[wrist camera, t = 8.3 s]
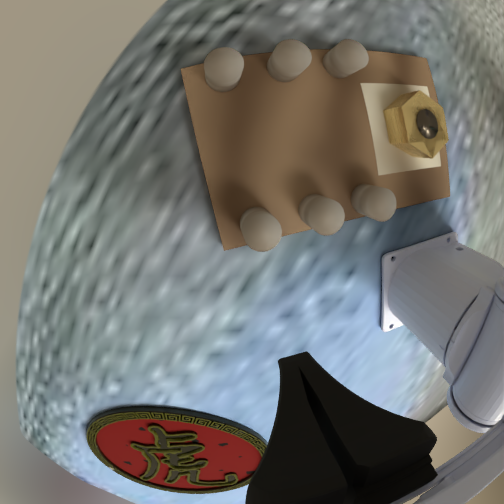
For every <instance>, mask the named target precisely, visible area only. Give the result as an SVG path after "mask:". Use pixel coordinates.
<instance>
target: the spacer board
mask: <svg viewBox="0 0 504 504" xmlns="http://www.w3.org/2000/svg"><path fill="white" fill-rule="evenodd" d="M181 73H182V77H183V82H184V87H185V91H186V96H187V101H188V105H189V110H190V114H191V118H192V123H193V127H194V131H195V136H196V140H197V144H198V149H199V153H200V157H201V161H202V165H203V169H204V174H205V178H206V182H207V186H208V190H209V194H210V198H211V202H212V206H213V210H214V214H215V217H216V221H217V225H218V229H219V233H220V237H221V241H222V244H223V248H224V251H225V250H229V249H233V248H237V247H241V246H245V245H248V246H249V247H250V248H251V249H253V250H255V251H260V252H264V251H268V250H271V249H273V248H274V247H275V246H276V245H277V244H278V243H279V241H280V239H281V237H282V236H286V235H290V234H294V233H298V232H302V231H306V230H310V229H313V230H315V231H316V232H317V233H319V234H321V235H326V236H327V235H332V234H334V233H336V232H337V231H339V229H340V228H341V227H342V225H343V223H344V221H348V220H352V219H356V218H360V217H364V216H368V217H370V218H372V219H375V220H377V221H380V222H384V221H387V220H389V219H390V218H391V217H392V216H393V214H394V213H395V210H396V209H398V208H402V207H407V206H411V205H415V204H420V203H424V202H428V201H433V200H437V199H441V198H446V197H450V186H449V172H448V161H447V152H446V144H445V145H444V146H443V147H442V149H441V150H440V151H439V152H438V153H437V154H436V155H435V157H434V158H433V159H430V158H417V157H412V156H410V155H409V154H407V153H405V152H404V151H402V150H400V149H398V148H397V147H395V146H393V145H391V144H390V143H389V138H388V133H387V128H386V123H385V118H384V113H383V110H384V109H385V108H386V107H388V106H389V105H390V104H391V103H392V102H393V101H394V100H396V99H397V98H398V97H399V96H400V95H402V94H406V93H410V92H414V91H418V90H420V91H422V92H423V93H425V94H426V95H427V96H429V97H430V98H431V99H432V100H434V101H435V102H436V103H438V99H437V95H436V91H435V87H434V83H433V79H432V76H431V72H430V68H429V65H428V62H427V59H426V58H422V57H416V56H410V55H403V54H396V53H388V52H378V51H366V49H365V48H364V47H363V46H362V45H361V44H360V43H358V42H357V41H355V40H351V39H345V40H342V41H341V42H340V43H338V44H337V45H336V46H335V47H334V48H332V49H313V50H309V48H308V47H307V46H306V45H305V44H303V43H302V42H300V41H297V40H293V39H287V40H283V41H281V42H280V43H278V44H277V46H276V47H275V49H274V51H273V52H269V53H260V54H252V55H245V56H242V55H241V54H240V53H239V52H238V51H236V50H234V49H232V48H228V47H222V48H217V49H215V50H213V51H211V52H210V53H209V54H208V55H207V56H206V58H205V60H204V63H203V64H198V65H194V66H190V67H186V68H182V69H181Z"/></svg>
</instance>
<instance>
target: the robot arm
mask: <svg viewBox="0 0 504 504" xmlns="http://www.w3.org/2000/svg"><path fill="white" fill-rule="evenodd" d="M447 239H448V240H447ZM392 256H393V259H392V260H391V258H392ZM402 325H405V326H406V327H407V328H408V329H409V330H410V331H411V332H412V333H413V334H414V335H415V336H416V337H417V338H418V339H419V340H420V341H421V342H422V343H423V344H424V345H425V346H426V347H427V348H428V349H429V350H430V352H431V353H432V354H433V355H434V356H435V357H436V358H437V359H438V360H439V361H440V362H441V363H442V364H443V365H444V366H445V367H446V369H445V372H444V375H443V378H444V379H445V380H446V381H447V382H448V383H449V385H450V386H449V389H448V391H447V402H448V406H449V408H450V411H451V412H452V414H453V416H454V417H455V418H456V419H457V421H458V422H459V423H460V424H461V425H463V426H464V427H466V428H468V429H470V430H472V431H475V432H479V433H485V434H483V435H482V436H481V437H480V438H478V439H477V440H476V441H475V442H474V443H472V444H471V445H470V446H468V447H467V448H466V449H464V450H463V451H462V452H460V453H459V454H457V455H456V456H455V457H453V458H452V459H450V460H449V461H447V462H446V463H444V464H443V465H441V466H440V467H438V468H436V469H434V467H433V466H432V465H431V462H432V459H431V457H430V455H429V453H430V452H431V450H432V449H433V447H434V445H435V444H436V441H437V437H436V436H435V434H434V433H433V432H432V430H431V429H430V428H429V427H428V426H427V425H426V424H425V423H424V422H421V421H417V420H413V419H409V418H406V417H403V416H400V415H397V414H394V413H391V412H389V411H387V410H385V409H382V408H380V407H378V406H376V405H374V404H372V403H370V402H368V401H366V400H364V399H363V398H361V397H359V396H358V395H356V394H355V393H353V392H352V391H350V390H349V389H347V388H346V387H345V386H343V385H342V384H341V383H339V382H338V381H337V380H336V379H335V378H333V377H332V376H331V375H330V374H329V373H328V372H327V371H325V370H324V369H323V368H322V367H321V366H320V365H319V364H318V363H317V362H316V361H315V359H314V358H313V357H312V356H311V355H310V354H309V353H308V352H303V353H299V354H296V355H292V356H288V357H285V358H281V359H279V360H278V364H279V369H280V392H279V401H278V407H277V413H276V418H275V422H274V426H273V429H272V432H271V436H270V439H269V442H268V444H267V447H266V449H265V452H264V454H263V456H262V459H261V461H260V463H259V465H258V467H257V469H256V471H255V473H254V474H253V476H252V478H251V480H250V482H249V486H248V490H247V495H246V504H403V503H405V502H407V501H409V500H411V499H413V498H414V497H416V496H418V495H420V494H422V493H423V492H425V491H427V490H428V489H430V488H431V489H430V490H428V491H427V492H425V493H424V494H422V495H421V496H420V498H419V499H418V500H417V501H416V502H415V503H413V504H465V503H467V502H468V501H469V500H470V499H472V498H473V497H474V496H476V495H477V494H478V493H479V492H481V491H482V490H483V489H484V488H485V487H486V486H487V485H489V484H490V483H491V482H492V481H493V480H494V479H495V478H497V477H498V476H499V475H500V474H501V473H502V472H503V471H504V268H503V267H502V265H501V264H500V263H498V262H497V261H495V260H493V259H491V258H489V257H487V256H485V255H483V254H481V253H479V252H477V251H475V250H473V249H471V248H469V247H467V246H464V245H462V244H460V243H458V235H457V233H456V232H451V233H448V234H445V235H442V236H439V237H436V238H433V239H430V240H427V241H424V242H421V243H418V244H415V245H412V246H408V247H405V248H402V249H399V250H396V251H393V252H389V253H386V254H384V256H383V257H382V317H381V330H382V331H383V332H387V331H390V330H392V329H395V328H397V327H399V326H402ZM433 486H434V487H433ZM432 487H433V488H432Z"/></svg>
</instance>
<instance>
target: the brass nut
mask: <svg viewBox="0 0 504 504" xmlns="http://www.w3.org/2000/svg"><path fill="white" fill-rule="evenodd" d="M383 113H384V118H385V123H386V128H387V133H388V138H389V143H390V144H391V145H393V146H395V147H397V148H398V149H400V150H402V151H404V152H405V153H407V154H409V155H410V156H412V157H417V158H430V159H433V158H434V157H435V155H436V154H437V153H438V152H439V151H440V150H441V149H442V147H443V146H444V145H445V144H446V143H447V142H448V140H449V139H448V133H447V127H446V121H445V116H444V111H443V107H441V106H440V105H439V104H438V103H436V102H435V101H434V100H432V99H431V98H430V97H429V96H427V95H426V94H425V93H423V92H422V91H420V90H418V91H414V92H410V93H406V94H402V95H400V96H399V97H398V98H397V99H396V100H394V101H393V102H392V103H391V104H390V105H389V106H388V107H386V108H385V109H384V110H383Z"/></svg>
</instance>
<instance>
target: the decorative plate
mask: <svg viewBox="0 0 504 504" xmlns="http://www.w3.org/2000/svg"><path fill="white" fill-rule="evenodd" d="M86 438H87V442H88V445H89V447H90V449H91V450H92V452H93V453H94V454H95V456H96V457H97V458H98V459H99V460H100V461H102V463H104V464H105V465H106V466H107V467H109V468H110V469H112V470H113V471H115V472H116V473H118V474H120V475H122V476H123V477H125V478H127V479H130V480H132V481H134V482H137V483H139V484H142V485H145V486H149V487H152V488H155V489H156V488H157V489H159V490H164V491H170V492H177V493H187V494H195V493H196V494H206V493H217V492H224V491H229V490H233V489H237V488H240V487H243V486H245V485H247V484H249V482H250V480H251V478H252V476H253V474H254V473H255V471H256V469H257V467H258V465H259V463H260V461H261V459H262V456H263V454H264V452H265V449H266V447H267V444H268V443H267V441H266V440H265V439H264V438H263V437H262V436H261V435H259V434H258V433H256V432H255V431H253V430H252V429H250V428H248V427H246V426H244V425H241V424H239V423H237V422H234V421H231V420H228V419H225V418H222V417H218V416H215V415H211V414H206V413H202V412H197V411H191V410H185V409H178V408H170V407H158V406H131V407H121V408H116V409H111V410H108V411H105V412H103V413H100V414H99V415H97V416H96V417H94V418H93V419H92V420H91V422H90V423H89V426H88V429H87V432H86Z"/></svg>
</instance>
